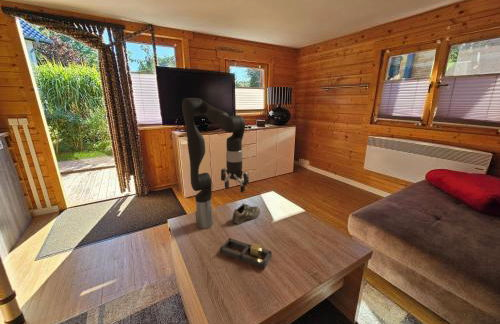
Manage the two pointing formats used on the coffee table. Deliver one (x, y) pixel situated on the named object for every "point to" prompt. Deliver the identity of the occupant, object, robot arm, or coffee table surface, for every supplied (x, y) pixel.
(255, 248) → the block
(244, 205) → the hiking shoe
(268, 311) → the coffee table surface
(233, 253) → the dark grey rectangular tray
